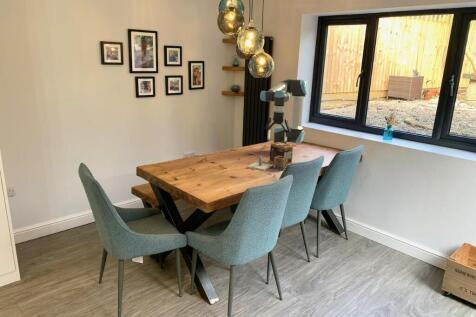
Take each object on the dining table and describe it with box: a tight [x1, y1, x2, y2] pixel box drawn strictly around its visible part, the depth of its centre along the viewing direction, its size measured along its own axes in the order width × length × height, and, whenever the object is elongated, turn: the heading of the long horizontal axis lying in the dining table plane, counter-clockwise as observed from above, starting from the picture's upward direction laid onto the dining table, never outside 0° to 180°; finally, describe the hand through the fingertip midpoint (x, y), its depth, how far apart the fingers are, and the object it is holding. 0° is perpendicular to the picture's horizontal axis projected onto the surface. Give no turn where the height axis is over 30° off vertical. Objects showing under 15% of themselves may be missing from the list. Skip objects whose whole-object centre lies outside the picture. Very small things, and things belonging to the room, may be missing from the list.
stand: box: [273, 165, 287, 172], centre depth 279 cm, size 7×7×3 cm
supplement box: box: [269, 142, 294, 166], centre depth 293 cm, size 10×15×16 cm
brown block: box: [273, 156, 288, 167], centre depth 278 cm, size 8×8×6 cm
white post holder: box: [247, 155, 273, 172], centre depth 281 cm, size 14×14×9 cm
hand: (277, 139), depth 273 cm, fingers open, 13 cm apart
